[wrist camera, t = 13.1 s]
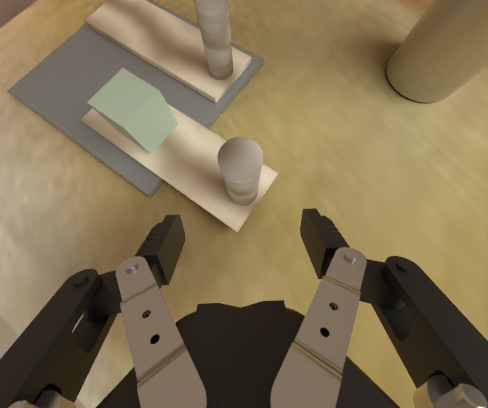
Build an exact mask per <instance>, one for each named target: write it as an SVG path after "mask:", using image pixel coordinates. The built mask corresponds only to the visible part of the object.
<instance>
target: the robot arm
mask: <svg viewBox="0 0 488 408" xmlns="http://www.w3.org/2000/svg"><path fill="white" fill-rule="evenodd" d="M486 67H488V0H434V1H433V2H432V3H431V5H430V6H429V7H428V9H427V10H426V11H425V13H424V14H423V15H422V17H421V18H420V19H419V21H418V22H417V24H416V25H415V26H414V27H413V29H412V30H411V31H410V33H409V34H408V35H407V37H406V38H405V40H404V41H403V42H402V44H401V45H400V46H399V48H398V49H397V50H396V52H395V53H394V55H393V56H392V57H391V59H390V60H389V62H388V65H387V76H388V79H389V81H390V83H391V85H392V86H393V87H394V88H395V89H396V90H397V91H398V92H399V93H400V94H402V95H403V96H405V97H407V98H409V99H411V100H414V101H418V102H425V103H431V102H438V101H441V100H443V99H445V98H447V97H448V96H450V95H451V94H452V93H454V92H455V91H456V90H458V89H459V88H460V87H461V86H463V85H464V84H465V83H467V82H468V81H469V80H471V79H472V78H473V77H474V76H476V75H477V74H478V73H480V72H481V71H482V70H484V69H485V68H486ZM300 233H301V238H302V240H303V242H304V245H305V247H306V250H307V252H308V255H309V257H310V260H311V262H312V264H313V267H314V269H315V272H316V274H317V277H318V279H322V280H321V282H320V285H319V287H318V289H317V291H316V293H315V296H314V298H313V300H312V302H311V305H310V307H309V309H308V311H307V313H306V316H304V315H302V314H301V313H299V312H297V311H295V310H292V309H289V308H286V307H285V304H284V300H280V301H262V302H259V303H255V304H252V305H249V306H245V307H242V308H239V307H234V306H230V305H225V304H221V303H210V304H198V306H197V311H196V312H193V313H191V314H188V315H187V316H185V317H183V318H182V319H180V320H179V321H178V322H176V323H175V322H174V320H173V318H172V316H171V313H170V311H169V309H168V307H167V305H166V303H165V300H164V298H163V296H162V294H161V292H160V288H161V285H169V283H170V281H171V278H172V275H173V272H174V269H175V267H176V264H177V261H178V258H179V256H180V253H181V250H182V247H183V245H184V242H185V233H184V229H183V225H182V221H181V217H180V215H166V217H165V218H164V220H163V222H162V223H158V224H157V225H156V226H154V227H153V228H152V230H151V231H150V233H149V235H148V236H147V237H146V240H145V241H144V242H143V244H142V245H141V247H140V249H139V250H138V252H137V253H136V255H135V257H132V258H129V259H127V260H125V261H124V262H122V263H121V264H120V265H119V266H118V268H117V269H116V270H115V271H112V272H108V273H105V274H101V275H99V274H98V272H97V271H96V270H94V269H86V270H83V271H80V272H78V273H76V274H74V275H73V276H71V277H70V278H69V279H67V280H66V281H65V283H64V284H63V285H62V286H61V287H60V289H59V290H58V291H57V292H56V293H55V295H54V296H53V297H52V298H51V299H50V301H49V302H48V303H47V304H46V305H45V307H44V308H43V309H42V310H41V311H40V312H39V314H38V315H37V316H36V317H35V318H34V320H33V321H32V322H31V323H30V324H29V326H28V327H27V328H26V329H25V330H24V332H23V333H22V334H21V335H20V336H19V338H18V339H17V340H16V341H15V342H14V344H13V345H12V346H11V347H10V348H9V350H8V351H7V352H6V353H5V354H4V356H3V357H2V358H1V359H0V408H76V406H75V404H74V402H75V400H76V398H77V396H78V394H79V392H80V390H81V388H82V386H83V383H84V381H85V379H86V377H87V375H88V373H89V371H90V369H91V367H92V365H93V363H94V361H95V359H96V357H97V355H98V353H99V351H100V348H101V346H102V344H103V342H104V340H105V338H106V336H107V334H108V332H109V330H110V328H111V326H112V324H113V322H114V320H115V318H116V316H117V314H118V313H121V312H122V316H123V320H124V324H125V329H126V333H127V337H128V342H129V346H130V350H131V354H132V359H133V363H134V368H133V369H132V370H131V371H130V372H129V373H128V374H127V375H126V376H125V377H124V378H123V379H122V380H121V381H120V382H119V384H118V385H117V386H116V387H115V388H114V389H113V390H112V391H111V392H110V393H109V394H108V395H107V396H106V397H105V398H104V400H103V401H102V402H101V403H100V404H99V405H98V406H97V407H96V408H400V407H399V406H398V405H397V404H396V403H395V402H394V401H393V400H392V399H391V398H390V397H389V396H388V395H387V394H386V393H385V392H384V391H383V390H382V389H381V388H379V387H378V386H377V385H376V384H375V383H374V382H373V381H372V380H371V379H370V378H369V377H368V376H367V375H366V374H365V373H364V372H363V371H362V370H361V369H360V368H359V367H358V366H357V365H356V364H355V363H354V362H353V361H352V360H351V359H350V358H349V357H348V356H346V354H347V350H348V346H349V342H350V337H351V333H352V329H353V325H354V321H355V316H356V312H357V308H358V304H359V301H362V302H366V303H370V304H371V305H372V306H373V308H374V310H375V312H376V314H377V316H378V317H379V319H380V321H381V323H382V325H383V327H384V329H385V330H386V332H387V334H388V336H389V338H390V340H391V342H392V343H393V345H394V347H395V349H396V351H397V353H398V354H399V356H400V358H401V360H402V362H403V364H404V366H405V367H406V369H407V371H408V373H409V375H410V377H411V379H412V380H413V382H414V384H415V386H416V388H417V389H416V391H415V392H414V397H413V400H414V405H415V408H488V341H487V340H486V339H485V338H484V337H483V336H482V335H481V333H480V332H479V331H478V330H477V329H476V328H475V327H474V326H473V325H472V324H471V323H470V321H469V320H468V319H467V318H466V317H465V316H464V315H463V314H462V313H461V312H460V311H459V310H458V308H457V307H456V306H455V305H454V304H453V303H452V302H451V301H450V300H449V299H448V298H447V296H446V295H445V294H444V293H443V292H442V291H441V290H440V289H439V288H438V287H437V286H436V285H435V283H434V282H433V281H432V280H431V279H430V278H429V277H428V276H427V275H426V274H425V273H424V271H423V270H422V269H421V268H420V267H419V266H418V265H417V264H415V263H414V262H412V261H410V260H408V259H406V258H403V257H399V256H391V257H388V258H387V259H386V261H385V263H384V262H378V261H373V260H368V259H366V258H365V256H364V255H363V254H362V253H361V252H359V251H358V250H356V249H353V248H350V247H349V245H348V244H347V242H346V241H345V240H344V238H343V237H342V235H341V234H340V232H338V229H337V228H336V227H335V225H334V224H333V222H332V221H331V220H330V219H329V218H327V217H326V216H321V215H320V214H319V212H318V211H317V209H316V208H314V209H303V212H302V220H301V227H300ZM82 314H83V315H84V316H83V317H82V319H81V320H80V322H79V324H78V325H77V327H76V328H75V330H74V332H73V333H72V330H73V328H74V326H75V325H76V323H77V322H78V320H79V319H80V317H81V315H82Z"/></svg>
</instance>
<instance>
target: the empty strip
mask: <svg viewBox="0 0 488 408" xmlns="http://www.w3.org/2000/svg"><path fill="white" fill-rule="evenodd" d="M194 3H195V8H196V13H197V17H198V22H199V27H200V29H198V28H196V27H194V26H192V25H190V24H189V23H187V22H185V21H183V20H181V19H179V18H177V17H176V16H174V15H172V14H170V13H168V12H166V11H164V10H162V9H161V8H159V7H157V6H155V5H153V4H151V3H149V2H147V1H146V0H108V1H106V2H105V3H104V4H103V5H102V6H101V7H99V8H98V9H97V10H96V11H95V12H94V13H92V14H91V15H90V16H89V17H88V18H87V19H85V20H84V21H85V22H86V24H87V25H88V27H90V28H91V29H93V30H95V31H96V32H98V33H100V34H101V35H103V36H105V37H107V38H108V39H110V40H112V41H113V42H115V43H117V44H118V45H120V46H122V47H123V48H125V49H127V50H128V51H130V52H132V53H133V54H135V55H137V56H138V57H140V58H142V59H143V60H145V61H147V62H148V63H150V64H152V65H153V66H155V67H157V68H158V69H160V70H162V71H163V72H165V73H167V74H168V75H170V76H172V77H173V78H175V79H177V80H178V81H180V82H182V83H183V84H185V85H187V86H188V87H190V88H192V89H193V90H195V91H197V92H198V93H200V94H202V95H203V96H205V97H207V98H208V99H210V100H212V101H213V102H215V103H217V102H218V100H219V99H220V98H221V97H222V96H223V95H224V93H225V92H226V91H227V90H228V89H229V88H230V86H231V85H232V84H233V83H234V82H235V81H236V79H237V78H238V77H239V76H240V75H241V74H242V73H243V71H244V70H245V69H246V68H247V67H248V66H249V64H250V63H251V57H250V56H249V55H247V54H245V53H243V52H241V51H239V50H237V49H235V48H234V47H232V45H231V32H230V20H229V7H228V0H194Z"/></svg>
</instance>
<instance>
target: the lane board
mask: <svg viewBox="0 0 488 408" xmlns="http://www.w3.org/2000/svg"><path fill="white" fill-rule="evenodd" d="M146 1H147V2H149V3H151V4H153V5H155V6H157V7H159V8H161V9H162V10H164V11H166V12H168V13H170V14H172V15H174V16H176V17H177V18H179V19H181V20H183V21H185V22H187V23H189V24H190V25H192V26H194V27H196V28H198V29H200V27H199V25H197V24H196V23H194V22H192V21H190V20H188V19H186V18H184V17H182V16H180V15H179V14H177V13H175V12H173V11H171V10H169V9H167V8H165V7H163V6H162V5H160V4H158V3H156V2H154V1H152V0H146ZM231 45H232V47H234V48H235V49H237V50H239V51H241V52H243V53H245V54H247V55H249V56H250V57H251V63H250V64H249V66H248V67H247V68H246V69H245V70H244V71H243V73H242V74H241V75H240V76H239V77H238V78H237V79H236V81H235V82H234V83H233V84H232V85H231V86H230V88H229V89H228V90H227V91H226V92H225V93H224V95H223V96H222V97H221V98H220V99H219V100H218V102H217V103H215V102H213V101H212V100H210V99H208V98H207V97H205V96H203V95H202V94H200V93H198V92H197V91H195V90H193V89H192V88H190V87H188V86H187V85H185V84H183V83H182V82H180V81H178V80H177V79H175V78H173V77H172V76H170V75H168V74H167V73H165V72H163V71H162V70H160V69H158V68H157V67H155V66H153V65H152V64H150V63H148V62H147V61H145V60H143V59H142V58H140V57H138V56H137V55H135V54H133V53H132V52H130V51H128V50H127V49H125V48H123V47H122V46H120V45H118V44H117V43H115V42H113V41H112V40H110V39H108V38H107V37H105V36H103V35H101V34H100V33H98V32H96V31H95V30H93V29H91V28H90V27H88V25H87V24H85V25H84V26H83V27H81V28H80V29H79V30H78V31H77V32H76V33H74V34H73V35H72V36H71V37H70V38H69V39H67V40H66V41H65V42H64V43H63V44H62V45H60V46H59V47H58V48H57V49H56V50H55V51H53V52H52V53H51V54H50V55H49V56H48V57H46V58H45V59H44V60H43V61H42V62H41V63H39V64H38V65H37V66H36V67H35V68H34V69H32V70H31V71H30V72H29V73H28V74H27V75H25V76H24V77H23V78H22V79H21V80H20V81H18V82H17V83H16V84H15V85H14V86H13V87H11V88H10V89H9V90H8V92H10V93H11V94H12V95H14V96H15V97H16V98H18V99H19V100H20V101H22V102H23V103H24V104H26V105H27V106H28V107H30V108H31V109H32V110H34V111H35V112H36V113H38V114H39V115H40V116H42V117H43V118H44V119H46V120H47V121H49V122H50V123H51V124H53V125H54V126H55V127H57V128H58V129H59V130H61V131H62V132H63V133H65V134H66V135H67V136H69V137H70V138H71V139H73V140H74V141H75V142H77V143H78V144H79V145H81V146H82V147H83V148H85V149H86V150H88V151H89V152H90V153H92V154H93V155H94V156H96V157H97V158H98V159H100V160H101V161H102V162H104V163H105V164H106V165H108V166H109V167H110V168H112V169H113V170H114V171H116V172H117V173H118V174H120V175H121V176H122V177H124V178H125V179H127V180H128V181H129V182H131V183H132V184H133V185H135V186H136V187H137V188H139V189H140V190H141V191H143V192H144V193H145V194H147V195H148V196H150V197H152V195H153V194H154V193H155V192H156V191H157V190H158V188H159V187H160V186H161V185H162V184H163V182H164V180H163V179H162V178H160V177H159V176H157V175H156V174H155V173H153V172H152V171H150V170H149V169H148V168H146V167H145V166H143V165H142V164H141V163H139V162H138V161H136V160H135V159H134V158H132V157H131V156H129V155H128V154H127V153H125V152H124V151H122V150H121V149H120V148H118V147H117V146H115V145H114V144H113V143H111V142H110V141H108V140H107V139H106V138H104V137H103V136H101V135H100V134H99V133H97V132H96V131H94V130H93V129H92V128H90V127H89V126H87V125H86V124H85V123H83V122H82V121H81V119H82V118H83V117H84V116H85V115H86V114H87V113H88V112H89V111H90V110H91V109H92V107H91V106H90V105H89V104H88V103H87V102H88V101H89V100H90V99H91V98H92V97H93V96H94V95H95V94H96V93H97V92H98V91H99V90H100V89H101V88H102V87H103V86H104V85H105V84H107V83H108V82H109V81H110V80H111V79H112V78H113V77H114V76H115V75H116V74H117V73H118V72H119V71H120V70H121V69H122V68H124V69H126V70H127V71H129V72H130V73H132V74H134V75H135V76H137V77H138V78H140V79H142V80H143V81H145V82H146V83H148V84H150V85H151V86H153V87H155V88H156V89H158V90H159V91H160V92H161V94H162V96H163V97H164V99H165V101H166V103H167V104H169V105H170V106H172V107H174V108H175V109H177V110H178V111H180V112H182V113H183V114H185V115H186V116H188V117H189V118H191V119H193V120H194V121H196V122H197V123H199V124H201V125H202V126H204V127H205V128H207V129H209V128H210V127H211V125H212V124H213V123H214V122H215V121H216V120H217V118H218V117H219V116H220V115H221V114H222V112H223V111H224V110H225V109H226V108H227V107H228V105H229V104H230V103H231V102H232V101H233V99H234V98H235V97H236V96H237V95H238V93H239V92H240V91H241V90H242V89H243V88H244V86H245V85H246V84H247V83H248V82H249V80H250V79H251V78H252V77H253V76H254V74H255V73H256V72H257V71H258V70H259V69H260V67H261V66H262V65H263V59H262V58H260V57H258V56H256V55H254V54H252V53H250V52H248V51H246V50H245V49H243V48H241V47H239V46H237V45H235V44H233V43H231Z"/></svg>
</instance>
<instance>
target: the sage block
mask: <svg viewBox="0 0 488 408" xmlns="http://www.w3.org/2000/svg"><path fill="white" fill-rule="evenodd" d="M87 103H88V104H89V105H90V106H91V107H92V108H93V109H95V110H96V111H97V112H98V113H99V114H100V115H101V116H102V117H103V118H104V119H105V120H106V121H108V122H109V123H110V124H111V125H112V126H113V127H114V128H115V129H116V130H117V131H118V132H119V133H121V134H122V135H123V136H125V137H126V138H128V139H129V140H131V141H132V142H134V143H135V144H136V145H138V146H139V147H141V148H142V149H144V150H145V151H146V152H148V153H149V154H152V153H153V152H154V151H155V150H156V148H157V147H158V146H159V145H160V144H161V143H162V142H163V141H164V139H165V138H166V137H167V136H168V135H169V134H170V133H171V132H172V130H173V129H174V128H175V127H176V126H177V125H178V123H177V121H176V119H175V117H174V116H173V114H172V112H171V110H170V108H169V106H168V105H167V103H166V101H165V99H164V97H163V96H162V94H161V92H160V91H159V90H158V89H156V88H155V87H153V86H151V85H150V84H148V83H146V82H145V81H143V80H142V79H140V78H138V77H137V76H135V75H134V74H132V73H130V72H129V71H127V70H126V69H124V68H122V69H121V70H120V71H119V72H118V73H117V74H116V75H115V76H114V77H113V78H112V79H111V80H110V81H109V82H108V83H107V84H105V85H104V86H103V87H102V88H101V89H100V90H99V91H98V92H97V93H96V94H95V95H94V96H93V97H92V98H91V99H90V100H89V101H88V102H87Z"/></svg>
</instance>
